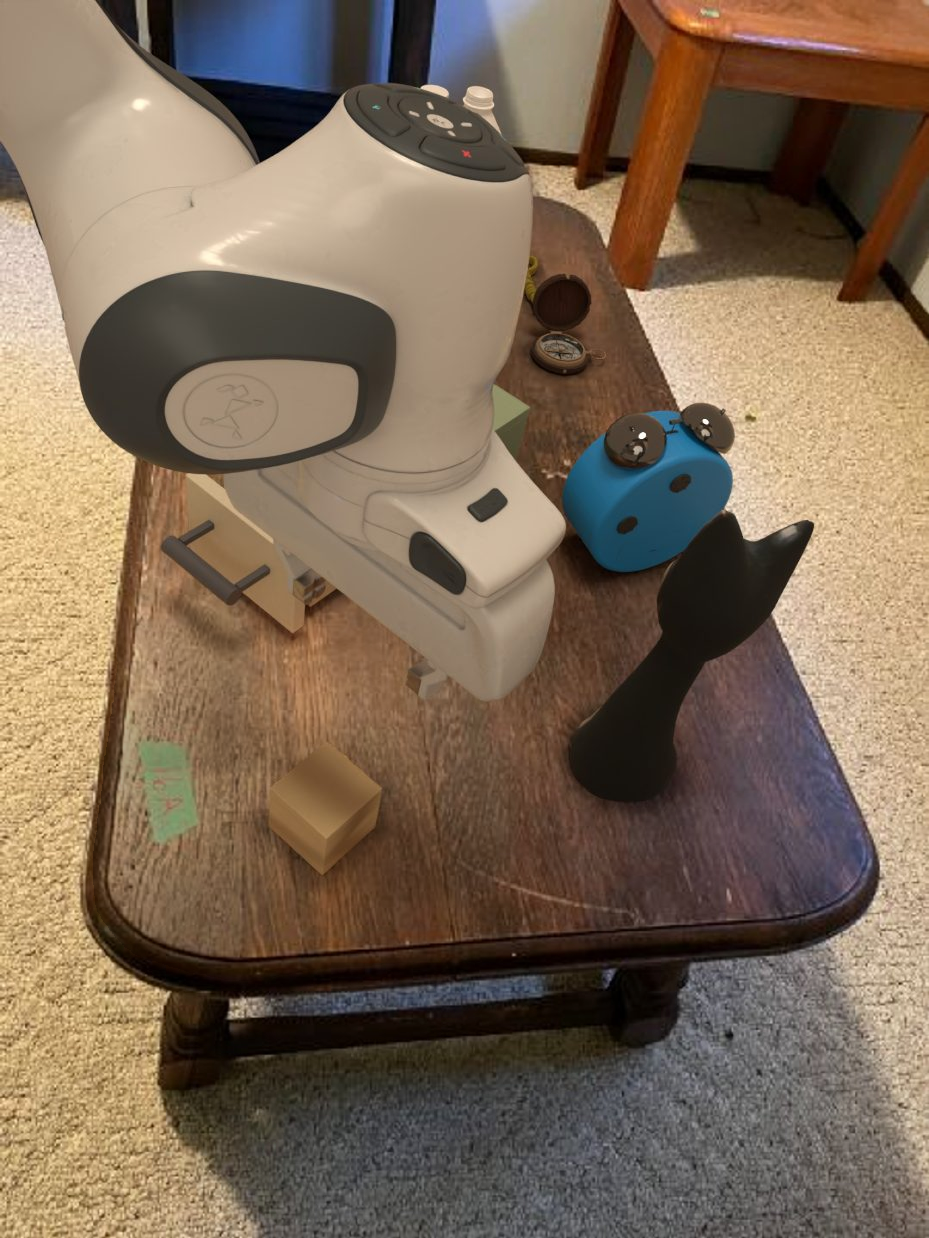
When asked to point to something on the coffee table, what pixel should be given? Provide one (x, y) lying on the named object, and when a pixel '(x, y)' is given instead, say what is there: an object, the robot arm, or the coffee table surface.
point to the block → (324, 807)
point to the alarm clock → (650, 485)
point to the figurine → (683, 652)
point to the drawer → (233, 554)
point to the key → (529, 284)
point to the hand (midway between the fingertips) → (363, 639)
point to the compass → (561, 323)
